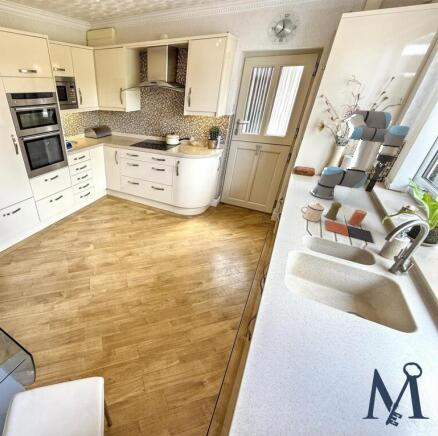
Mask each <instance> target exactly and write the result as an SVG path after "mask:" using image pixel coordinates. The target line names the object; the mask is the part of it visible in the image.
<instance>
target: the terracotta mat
mask: <svg viewBox="0 0 438 436" xmlns="http://www.w3.org/2000/svg"><path fill="white" fill-rule="evenodd" d="M347 226H348V225H347V224H344V223H340V222H336V221H333V220H330V219H325V230H326V231H329V232H332V233H335V234H339V235H343V236H346V237H350V236H349V232H348V227H347Z"/></svg>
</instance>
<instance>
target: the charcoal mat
mask: <svg viewBox="0 0 438 436" xmlns="http://www.w3.org/2000/svg"><path fill="white" fill-rule="evenodd" d="M347 229H348V234H349V236H348V237H350V238H353V239H357V240H361V241H364V242H368V243H372V244H374V239H373V236H372V233H371V231H370V230H367V229H363V228H358V227H356V226H351V225H347Z"/></svg>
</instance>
